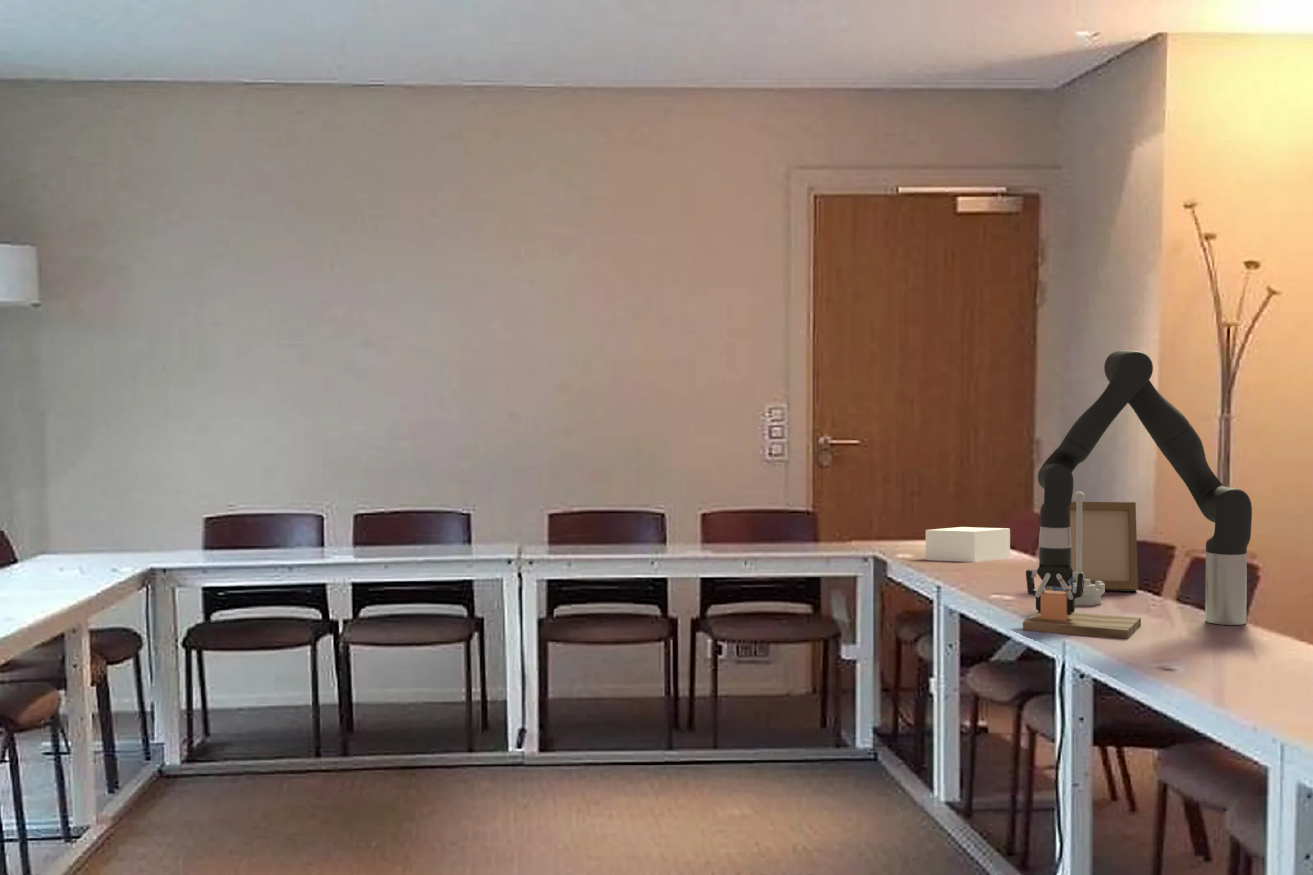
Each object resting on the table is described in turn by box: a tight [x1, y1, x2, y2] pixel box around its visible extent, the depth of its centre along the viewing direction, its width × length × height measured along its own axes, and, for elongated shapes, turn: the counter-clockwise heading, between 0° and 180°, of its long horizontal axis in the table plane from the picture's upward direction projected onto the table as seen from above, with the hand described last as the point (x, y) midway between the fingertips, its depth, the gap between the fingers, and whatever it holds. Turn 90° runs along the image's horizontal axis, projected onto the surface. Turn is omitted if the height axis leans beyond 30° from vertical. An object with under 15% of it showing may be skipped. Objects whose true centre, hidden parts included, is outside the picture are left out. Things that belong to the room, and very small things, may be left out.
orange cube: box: [1041, 590, 1071, 620], centre depth 316 cm, size 6×6×6 cm
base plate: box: [1022, 611, 1142, 640], centre depth 313 cm, size 18×24×6 cm
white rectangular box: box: [925, 526, 1011, 563], centre depth 437 cm, size 14×29×10 cm, turn 94°
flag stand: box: [1073, 491, 1106, 606], centre depth 350 cm, size 13×13×30 cm
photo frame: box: [1070, 501, 1139, 592], centre depth 373 cm, size 15×22×25 cm
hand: (1055, 613), depth 316 cm, fingers open, 6 cm apart
